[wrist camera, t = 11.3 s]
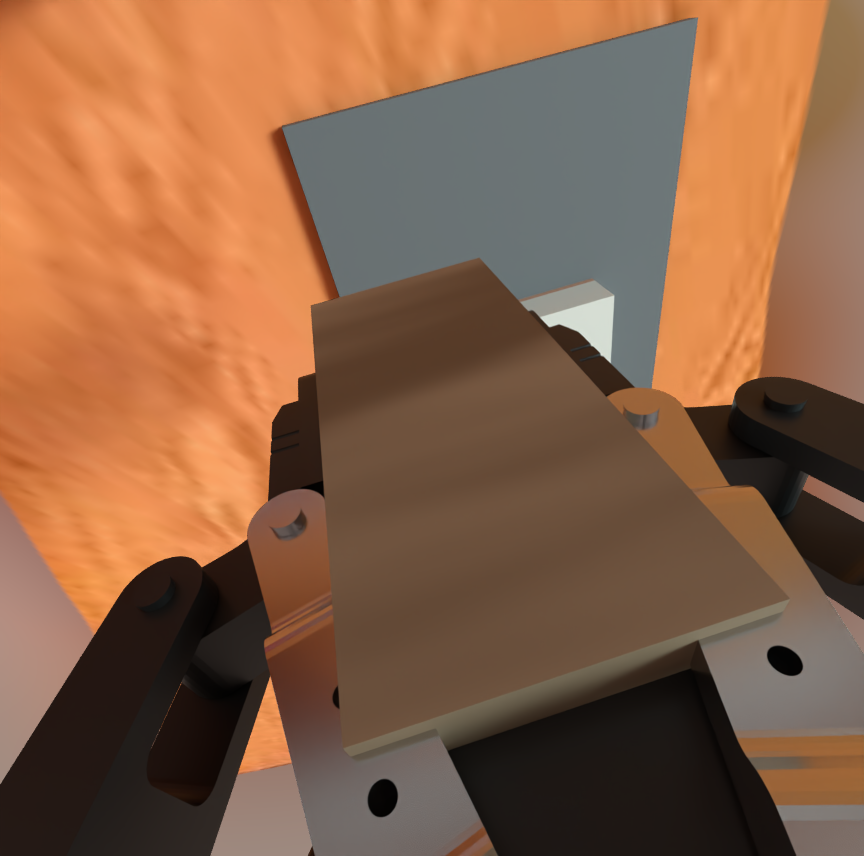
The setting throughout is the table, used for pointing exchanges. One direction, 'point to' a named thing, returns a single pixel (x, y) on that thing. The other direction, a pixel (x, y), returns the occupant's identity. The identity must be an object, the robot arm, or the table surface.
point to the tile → (578, 311)
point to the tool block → (498, 521)
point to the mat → (515, 178)
